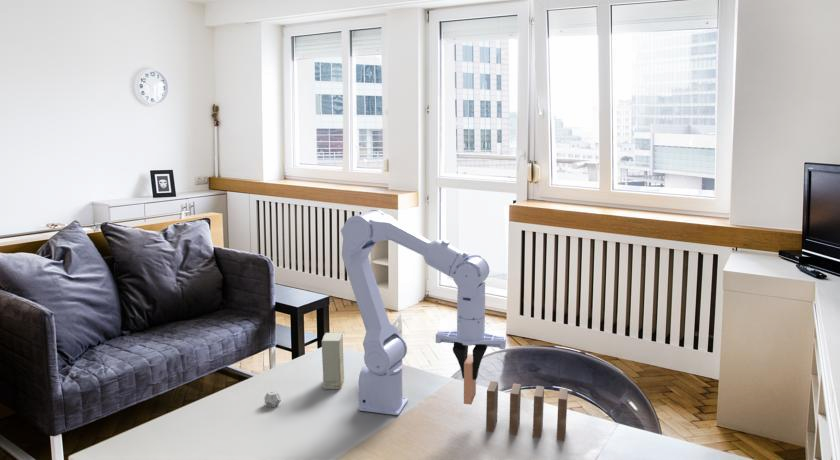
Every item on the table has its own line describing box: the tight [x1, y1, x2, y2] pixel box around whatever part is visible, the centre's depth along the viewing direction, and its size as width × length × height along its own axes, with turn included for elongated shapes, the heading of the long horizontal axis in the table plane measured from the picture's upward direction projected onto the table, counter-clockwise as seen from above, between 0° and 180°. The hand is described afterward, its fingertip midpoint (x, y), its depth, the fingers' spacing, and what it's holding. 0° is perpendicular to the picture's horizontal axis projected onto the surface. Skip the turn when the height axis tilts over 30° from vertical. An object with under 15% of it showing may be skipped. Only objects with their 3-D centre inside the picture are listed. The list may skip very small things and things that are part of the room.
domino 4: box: [556, 387, 569, 442], centre depth 136 cm, size 2×5×9 cm, turn 165°
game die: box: [263, 390, 282, 408], centre depth 150 cm, size 4×4×3 cm
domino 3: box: [532, 385, 545, 439], centre depth 137 cm, size 2×5×9 cm, turn 165°
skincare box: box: [321, 332, 345, 390], centre depth 160 cm, size 6×4×12 cm
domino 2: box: [508, 382, 522, 436], centre depth 139 cm, size 2×5×9 cm, turn 165°
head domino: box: [463, 353, 477, 406], centre depth 140 cm, size 2×5×9 cm, turn 165°
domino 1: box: [485, 380, 499, 433], centre depth 140 cm, size 2×5×9 cm, turn 165°
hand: (470, 377), depth 140 cm, fingers closed on head domino, 2 cm apart
